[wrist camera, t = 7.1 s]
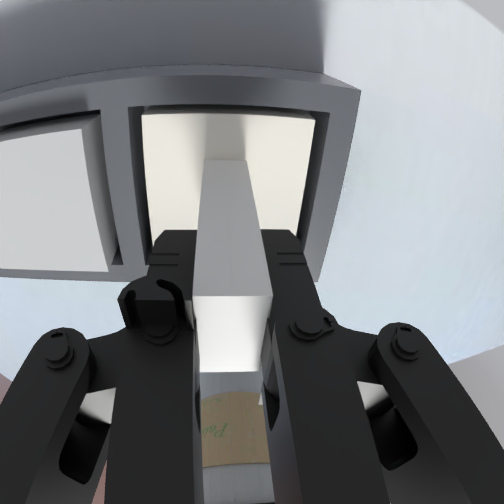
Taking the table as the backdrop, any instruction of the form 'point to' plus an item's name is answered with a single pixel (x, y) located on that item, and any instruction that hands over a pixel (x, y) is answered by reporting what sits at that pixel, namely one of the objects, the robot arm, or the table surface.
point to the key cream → (225, 148)
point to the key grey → (56, 197)
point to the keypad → (190, 92)
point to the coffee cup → (234, 439)
